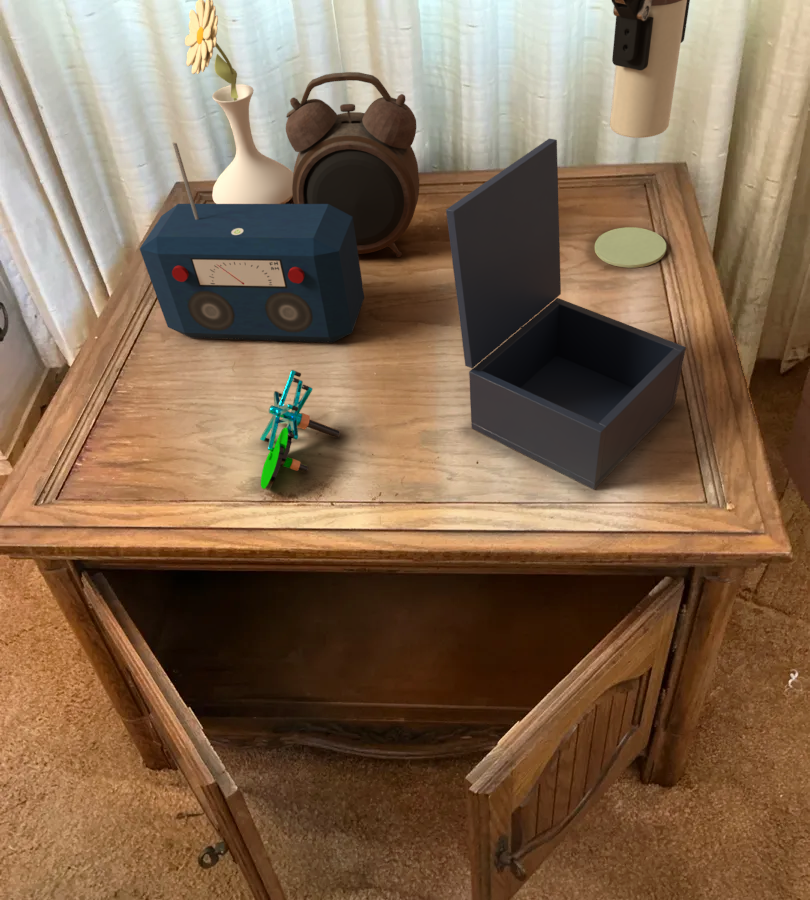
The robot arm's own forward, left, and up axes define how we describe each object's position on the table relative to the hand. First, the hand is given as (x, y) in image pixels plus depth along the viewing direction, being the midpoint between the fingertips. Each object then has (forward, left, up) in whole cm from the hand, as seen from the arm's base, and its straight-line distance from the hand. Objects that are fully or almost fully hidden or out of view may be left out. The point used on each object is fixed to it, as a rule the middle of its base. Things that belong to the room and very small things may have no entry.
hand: (648, 51), depth 75 cm
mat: (-1, -8, -24) cm, 25 cm away
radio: (+38, +9, -24) cm, 46 cm away
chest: (+4, +22, -24) cm, 33 cm away
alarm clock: (+30, -6, -24) cm, 39 cm away
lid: (+10, +18, -9) cm, 23 cm away
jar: (0, 0, -6) cm, 6 cm away
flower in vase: (+47, -17, -24) cm, 55 cm away
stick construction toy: (+29, +29, -24) cm, 47 cm away
